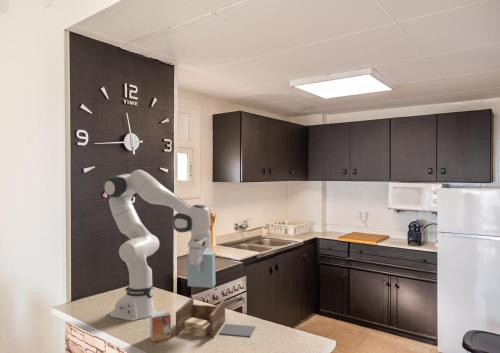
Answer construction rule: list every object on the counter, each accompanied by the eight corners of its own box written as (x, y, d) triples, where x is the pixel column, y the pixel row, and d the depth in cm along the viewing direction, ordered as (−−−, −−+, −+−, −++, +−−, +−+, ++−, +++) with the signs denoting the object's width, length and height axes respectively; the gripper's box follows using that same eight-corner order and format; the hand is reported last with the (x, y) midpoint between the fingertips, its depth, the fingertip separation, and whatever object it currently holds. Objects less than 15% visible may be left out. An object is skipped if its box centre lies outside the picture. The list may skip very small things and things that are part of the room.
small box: (152, 342, 154) (151, 317, 154) (150, 337, 159) (149, 313, 159) (171, 338, 157) (170, 314, 157) (168, 333, 162) (168, 310, 162)
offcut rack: (176, 334, 161) (175, 312, 160) (191, 318, 178) (191, 298, 178) (213, 338, 157) (212, 315, 157) (225, 321, 174) (224, 300, 174)
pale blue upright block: (187, 286, 167) (187, 253, 167) (191, 283, 172) (190, 251, 171) (212, 287, 165) (212, 254, 164) (215, 284, 169) (215, 252, 169)
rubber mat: (219, 334, 160) (219, 333, 160) (225, 324, 170) (225, 323, 170) (250, 337, 157) (250, 335, 157) (254, 327, 167) (254, 326, 167)
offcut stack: (182, 334, 162) (182, 322, 162) (189, 328, 168) (189, 316, 167) (204, 338, 158) (204, 325, 158) (211, 331, 164) (211, 320, 164)
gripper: (202, 235, 179) (202, 263, 179) (186, 244, 159) (186, 275, 159) (214, 236, 177) (214, 264, 178) (199, 244, 157) (200, 276, 158)
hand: (201, 270), depth 168 cm, fingers closed on pale blue upright block, 4 cm apart
